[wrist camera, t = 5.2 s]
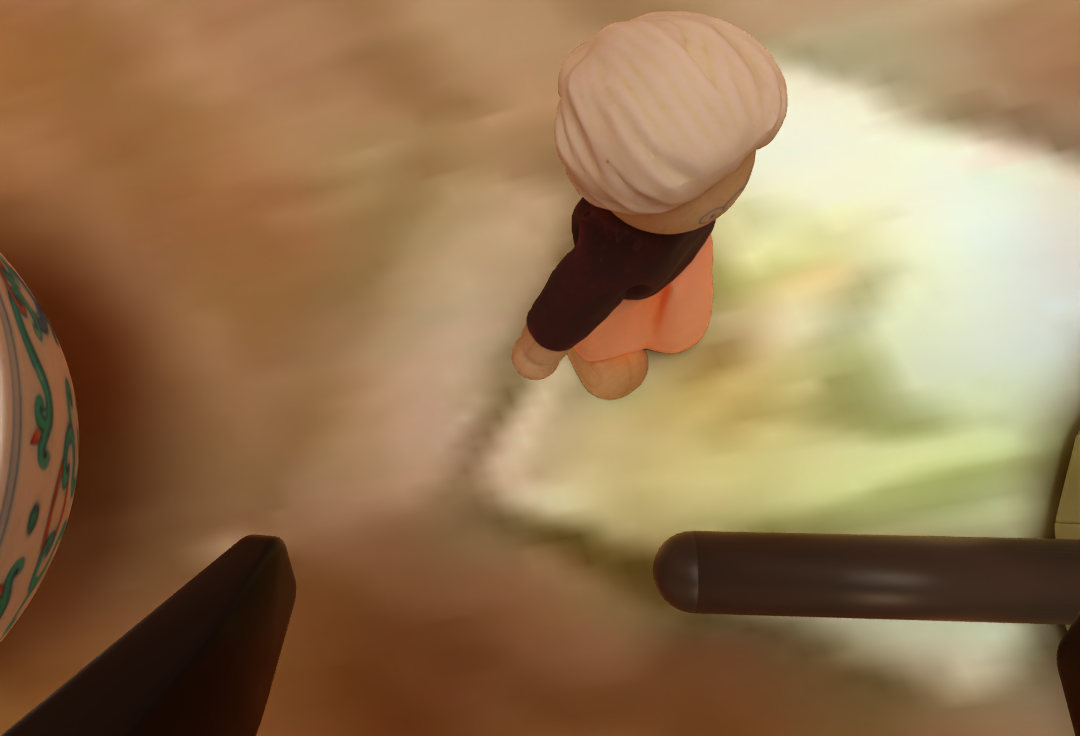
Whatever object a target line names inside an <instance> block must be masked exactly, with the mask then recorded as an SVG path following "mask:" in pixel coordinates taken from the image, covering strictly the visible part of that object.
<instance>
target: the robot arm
mask: <svg viewBox="0 0 1080 736" xmlns="http://www.w3.org/2000/svg"><path fill="white" fill-rule="evenodd" d="M295 597H296V580H295V576H294V573H293V569H292V566H291V562H290V559H289V556H288V552H287V549H286V545H285V543H284V541H283V540H282V539H281V538H280V537H276V536H264V535H248V536H246V537H244V538H242V539H241V540H239V541H238V542H237V543H236V544H234V545H233V546H232V547H231V548H229V549H228V550H227V551H226V552H225V553H223V554H222V555H221V556H220V557H218V558H217V559H216V560H215V561H214V562H212V563H211V564H210V565H209V566H207V567H206V568H205V569H204V570H203V571H201V572H200V573H199V574H198V575H197V576H195V577H194V578H193V579H192V580H190V581H189V582H188V583H187V584H186V585H184V586H183V587H182V588H181V589H179V590H178V591H177V592H176V593H175V594H173V595H172V596H171V597H170V598H168V599H167V600H166V601H165V602H164V603H162V604H161V605H160V606H159V607H157V608H156V609H155V610H154V611H153V612H151V613H150V614H149V615H148V616H146V617H145V618H144V619H143V620H142V621H140V622H139V623H138V624H137V625H135V626H134V627H133V628H132V629H131V630H129V631H128V632H127V633H126V634H124V635H123V636H122V637H121V638H120V639H118V640H117V641H116V642H115V643H113V644H112V645H111V646H110V647H109V648H107V649H106V650H105V651H104V652H102V653H101V654H100V655H99V656H98V657H96V658H95V659H94V660H93V661H91V662H90V663H89V664H88V665H87V666H85V667H84V668H83V669H82V670H80V671H79V672H78V673H77V674H76V675H74V676H73V677H72V678H71V679H69V680H68V681H67V682H66V683H65V684H63V685H62V686H61V687H60V688H58V689H57V690H56V691H55V692H54V693H52V694H51V695H50V696H49V697H47V698H46V699H45V700H44V701H43V702H41V703H40V704H39V705H38V706H37V707H35V708H34V709H33V710H32V711H30V712H29V713H28V714H27V715H26V716H24V717H23V718H22V719H21V720H19V721H18V722H17V723H16V724H15V725H13V726H12V727H11V728H10V729H8V730H7V731H6V732H5V733H4V734H2V735H1V736H256V734H257V731H258V728H259V726H260V723H261V720H262V716H263V713H264V710H265V706H266V703H267V700H268V696H269V692H270V689H271V685H272V682H273V678H274V674H275V671H276V667H277V663H278V660H279V656H280V653H281V649H282V645H283V642H284V638H285V635H286V631H287V627H288V624H289V620H290V617H291V613H292V609H293V606H294V602H295ZM1057 666H1058V671H1059V675H1060V679H1061V682H1062V686H1063V690H1064V694H1065V698H1066V702H1067V705H1068V709H1069V713H1070V717H1071V721H1072V724H1073V728H1074V732H1075V736H1080V612H1079V613H1078V615H1077V617H1076V618H1075V620H1074V621H1073V623H1072V625H1071V626H1070V628H1069V629H1068V631H1067V632H1066V634H1065V636H1064V637H1063V639H1062V640H1061V642H1060V644H1059V647H1058V651H1057Z"/></svg>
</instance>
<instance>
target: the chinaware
mask: <svg viewBox="0 0 1080 736" xmlns="http://www.w3.org/2000/svg"><path fill="white" fill-rule="evenodd" d="M78 464H79V422H78V412H77V404H76V398H75V393H74V388H73V384H72V380H71V376H70V373H69V369H68V366H67V363H66V360H65V357H64V354H63V351H62V349H61V346H60V344H59V342H58V339H57V337H56V335H55V333H54V331H53V328H52V326H51V324H50V322H49V321H48V319H47V317H46V315H45V313H44V311H43V310H42V308H41V306H40V305H39V303H38V301H37V300H36V298H35V297H34V295H33V294H32V292H31V291H30V289H29V288H28V286H27V285H26V284H25V282H24V281H23V279H22V278H21V277H20V276H19V274H18V273H17V272H16V270H15V269H14V268H13V267H12V265H11V264H10V263H9V262H8V261H7V259H6V258H5V257H4V256H3V255H2V254H1V252H0V642H1V641H2V640H3V638H4V637H5V636H6V635H7V633H8V632H9V631H10V630H11V628H12V627H13V626H14V624H15V623H16V621H17V620H18V619H19V617H20V616H21V614H22V613H23V611H24V610H25V608H26V607H27V605H28V604H29V602H30V601H31V599H32V598H33V596H34V594H35V593H36V591H37V589H38V587H39V586H40V584H41V582H42V580H43V578H44V577H45V575H46V573H47V571H48V569H49V567H50V565H51V562H52V560H53V558H54V556H55V553H56V551H57V549H58V546H59V544H60V541H61V539H62V536H63V533H64V530H65V527H66V524H67V521H68V517H69V514H70V510H71V506H72V502H73V498H74V492H75V487H76V481H77V473H78Z"/></svg>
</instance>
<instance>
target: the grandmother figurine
mask: <svg viewBox="0 0 1080 736" xmlns="http://www.w3.org/2000/svg"><path fill="white" fill-rule="evenodd" d="M558 94H559V96H560V97H561V99H560V102H559V104H558V110H557V115H556V119H555V139H556V143H557V150H558V154H559V157H560V159H561V161H562V163H563V164H564V166H565V167H566V172H567V175H568V177H569V179H570V181H571V182H572V184H573V185H574V186H575V188H576V189H577V191H578V193H579V194H580V195H581V196H582V199H581V200H580V201H579V203H578V204H577V205H576V207H575V209H574V211H573V214H572V234H573V240H574V245H575V247H574V249H573V250H572V251H571V252H569V253H567V255H566V256H565V257H564V258H563V259H562V260H561V262H560V263H559V264H558V265H557V267H556V268H555V270H553V272H552V273H551V275H550V277H549V279H548V281H547V283H546V285H545V287H544V289H543V290H542V292H541V294H540V295H539V296H538V298H537V299H536V301H535V302H534V304H533V306H532V308H531V309H530V311H529V312H528V315H527V323H526V325H525V327H524V328H523V331H522V333H521V337H520V338H519V339H518V340H517V341H516V343H515V345H514V347H513V351H512V361H513V364H514V366H515V368H516V370H517V371H518V373H519V374H521V375H522V376H523V377H525V378H528V379H531V380H540V379H544V378H546V377H548V376H549V375H551V374H552V373H553V372H554V371H555V370H556V368H557V366H558V364H559V362H560V360H561V359H562V358H564V357H565V355H566V354H567V355H568V357H569V359H570V361H571V363H572V364H573V366H574V368H575V370H576V372H577V374H578V376H579V378H580V379H581V381H582V383H583V384H584V386H585V387H586V388H587V390H588V391H589V392H591V393H592V394H593V395H595V396H597V397H599V398H602V399H608V400H613V399H618V398H622V397H624V396H626V395H628V394H629V393H631V392H632V391H634V390H635V389H636V388H637V387H638V386H640V384H641V383H642V382H643V380H644V378H645V376H646V374H647V370H648V357H647V354H646V351H645V350H644V349H650V350H653V351H658V352H664V353H678V352H681V351H684V350H686V349H688V348H690V347H692V346H693V345H695V344H696V343H697V342H698V341H699V340H700V339H701V338H702V337H703V335H704V334H705V332H706V330H707V328H708V325H709V320H710V317H711V313H712V300H713V279H712V265H713V242H712V236H711V232H712V230H713V227H714V224H715V221H716V219H717V218H718V217H719V216H721V215H722V214H723V213H724V212H726V211H727V210H728V209H729V208H730V207H731V206H732V205H733V203H734V202H735V201H736V199H737V198H738V197H739V195H740V194H741V193H742V191H743V190H744V188H745V186H746V184H747V183H748V180H749V178H750V175H751V172H752V169H753V165H754V162H755V153H756V149H760V148H762V147H764V146H766V145H768V144H769V143H770V142H771V141H772V140H773V139H774V137H775V136H776V134H777V133H778V131H779V129H780V128H781V126H782V124H783V121H784V118H785V117H786V112H787V106H788V103H787V88H786V83H785V79H784V77H783V75H782V72H781V70H780V68H779V66H778V65H777V63H776V62H775V60H774V58H773V57H772V55H771V54H770V53H769V52H768V51H767V50H766V49H765V48H764V47H763V46H762V45H761V44H760V43H759V42H758V41H757V40H756V39H754V38H753V37H752V36H751V35H749V34H747V33H746V32H744V31H743V30H741V29H739V28H738V27H736V26H734V25H732V24H730V23H728V22H726V21H724V20H721V19H718V18H714V17H711V16H709V15H706V14H701V13H695V12H690V11H671V12H667V11H658V12H650V13H647V14H644V15H642V16H639V17H636V18H634V19H631V20H628V21H627V22H616V23H612V24H610V25H608V26H606V27H604V28H602V29H601V30H600V31H599V32H598V33H597V34H596V35H595V36H594V37H593V38H592V39H590V40H589V41H587V42H585V43H583V44H581V45H580V46H578V47H577V48H576V49H575V50H574V51H573V52H572V53H571V55H570V56H569V57H568V59H567V60H566V61H565V62H564V64H563V65H562V67H561V70H560V73H559V81H558Z"/></svg>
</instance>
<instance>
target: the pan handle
mask: <svg viewBox="0 0 1080 736" xmlns="http://www.w3.org/2000/svg"><path fill="white" fill-rule="evenodd" d="M653 575H654V580H655V584H656V587H657V589H658V591H659V592H660V594H661V595H662V597H663V598H664V599H665V600H666V601H667V602H668V603H669V604H670V605H672V606H673V607H675V608H677V609H679V610H682V611H685V612H689V613H701V614H734V615H766V616H799V617H832V618H865V619H898V620H931V621H964V622H997V623H1030V624H1063V625H1072V623H1073V621H1074V620H1075V618H1076V617H1077V615H1078V613H1079V612H1080V539H1037V538H991V537H945V536H899V535H853V534H807V533H761V532H715V531H687V532H682V533H678V534H676V535H674V536H672V537H670V538H669V539H668V540H667V541H665V542H664V543H663V545H662V546H661V547H660V548H659V550H658V552H657V554H656V557H655V560H654V565H653Z"/></svg>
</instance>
